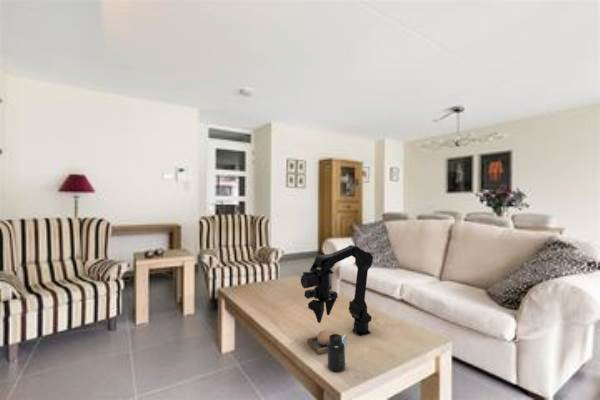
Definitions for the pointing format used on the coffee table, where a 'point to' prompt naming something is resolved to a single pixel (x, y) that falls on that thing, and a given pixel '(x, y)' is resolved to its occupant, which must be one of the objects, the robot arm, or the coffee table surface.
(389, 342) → the coffee table surface
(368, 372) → the coffee table surface
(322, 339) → the ball
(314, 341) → the walnut tray
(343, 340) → the light blue ledge shelf
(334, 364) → the supplement bottle
